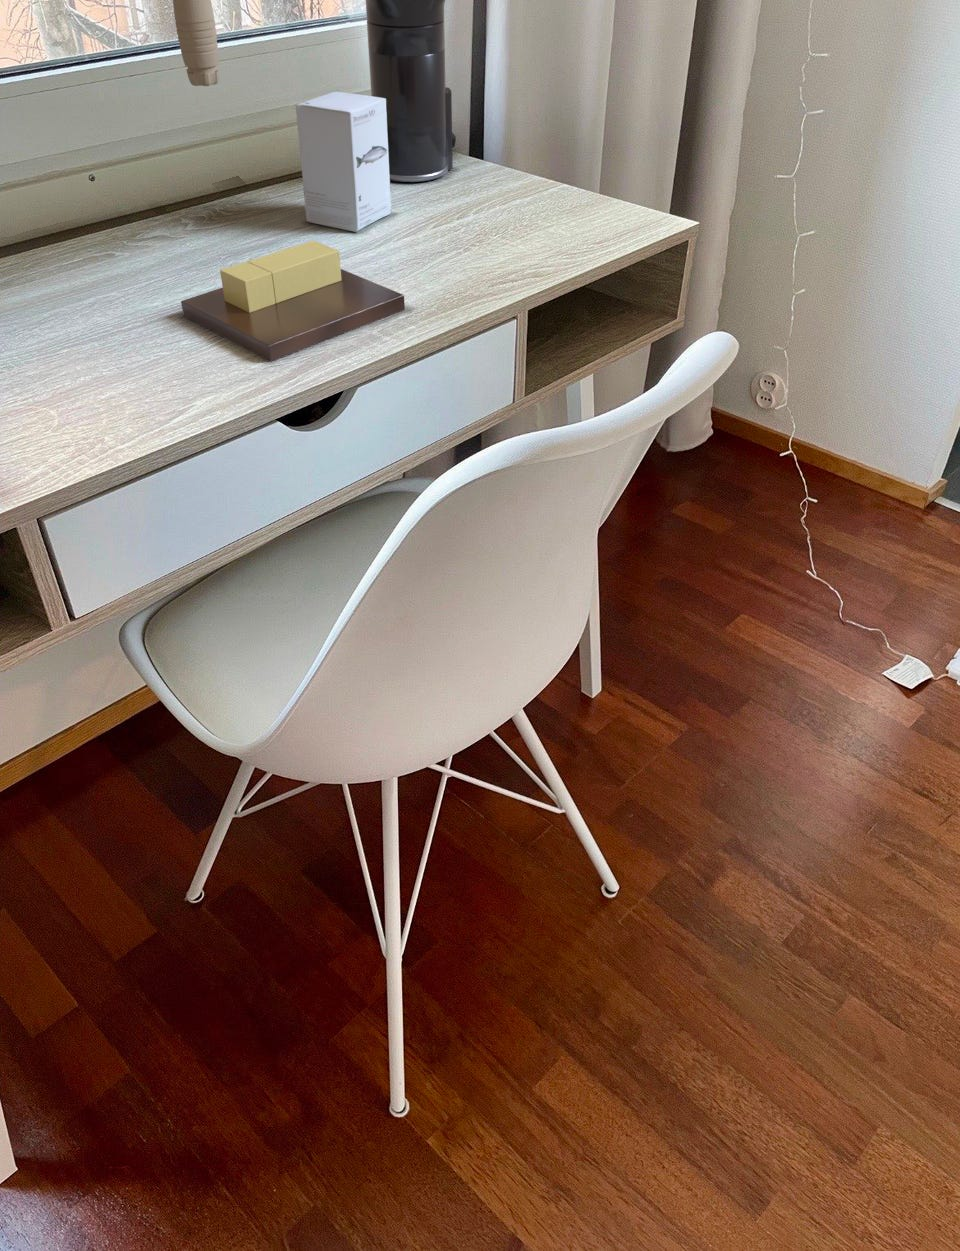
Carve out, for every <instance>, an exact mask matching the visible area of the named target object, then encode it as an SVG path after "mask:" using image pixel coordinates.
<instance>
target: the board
mask: <svg viewBox="0 0 960 1251" xmlns="http://www.w3.org/2000/svg"><path fill="white" fill-rule="evenodd" d="M340 269H341V281H339V282H336V283H333V284H330V285H327V286H325V287H322V288H319V289H316V290H313V291H310V292H308V293H305V294H302V295H299V296H296V297H293V298H290V299H288V300H285V301H282V302H279V303H275V304H274V305H271V306H268V307H265V308H262V309H259V310H256V311H254V312H251V313H249V312H247V311H245V310H243V309H241V308H238V307H236V306H234V305H232V304H230V303H228V302H226V301H225V298H224V292H223V286H222V287H220V288H217V289H213V290H211V291H207V292H204V293H202V294H201V293H200V294H198V295H195V296H192V297H188V298H185V299H182V300H180V304H181V310H182V315H183V317H185V318H187V319H189V320H191V321H192V322H194V323H197V324H198V325H201V326H203V327H204V328H206V329H208V330H210V331H212V332H214V333H216V334H217V335H219V336H222V337H223V338H226V339H227V340H229V341H231V342H233V343H235V344H237V345H239V346H241V347H242V348H244V349H246V350H248V351H250V352H252V353H254V354H256V355H258V356H259V357H262V358H263V359H266V360H267V361H269V362H273V361H276V360H278V359H281V358H284V357H286V356H289V355H291V354H294V353H296V352H300V351H302V350H304V349H307V348H309V347H312V346H315V345H317V344H319V343H320V344H321V343H323V342H325V341H328V340H330V339H333V338H335V337H338V336H340V335H343V334H346V333H348V332H351V331H353V330H356V329H358V328H362V327H364V326H366V325H369V324H371V323H374V322H376V321H377V322H378V321H379V320H382V319H384V318H387V317H390V316H392V315H395V314H398V313H400V312H403V311H405V310H406V308H405V307H406V306H405V303H406V302H405V294H403V293H400V292H398V291H396V290H393V289H391V288H388V287H386V286H383V285H381V284H379V283H376V282H374V281H371V280H369V279H367V278H364V277H362V276H360V275H357V274H354V273H353V272H349V271H347V270H345V269H342V268H340Z"/></svg>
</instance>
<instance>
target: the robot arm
mask: <svg viewBox="0 0 960 1251" xmlns="http://www.w3.org/2000/svg"><path fill="white" fill-rule="evenodd" d="M445 4H446V0H365V16H366V32H367V34H366V35H367V47H368V63H369V65H368V66H369V79H370V83H369V84H370V96H373V97H380V98H385V99H386V113H387V134H388V155H389V176H390V181H393V182H402V183H418V182H420V183H421V182H427V181H432V180H435V179H439V178H441V177H444V176H445V175H447V173H448V171H449V170H453V168H454V166H453V163H454V162H453V149H454V148H455V147H456V142H457V136H456V135H455V134H454V132H453V109H452V108H453V107H452V105H453V104H452V103H453V101H452V100H453V99H452V96H453V95H452V94H453V93H452V89H451V88H450V87H449V86H448V87H447V86H446V48H445V44H446V43H445V37H446V36H445Z"/></svg>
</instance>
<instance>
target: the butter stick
mask: <svg viewBox="0 0 960 1251" xmlns="http://www.w3.org/2000/svg"><path fill="white" fill-rule="evenodd" d="M246 262H248V263H250V264H253V265H255V266H257V267H259V268H262V269H264V270H266V271H268V272H271V273H272V281H273V289H274V296H275V303H279V302H282V301H285V300H288V299H290V298H293V297H296V296H299V295H302V294H305V293H308V292H310V291H313V290H316V289H319V288H322V287H325V286H327V285H330V284H333V283H336V282H339V281H341V269H342V268H341V258H340V250H339V249H336V248H334V247H331V246H329V245H326V244H323V243H322V242H319V241H317V240H313V239H312V240H311V241H308V242H304V243H301V244H298V245H294V246H291V247H289V248H285V249H282V250H279V251H276V252H272V253H270V254H266V255H264V256H260V257H257V258H253V259H251V260H247V261H246Z"/></svg>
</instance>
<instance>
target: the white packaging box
mask: <svg viewBox="0 0 960 1251" xmlns="http://www.w3.org/2000/svg"><path fill="white" fill-rule="evenodd" d="M295 115H296V124H297V133H298V135H297V136H298V146H299V155H300V166H301V175H302V186H303V196H304V207H305V208H304V209H305V217H306V222H308V223H311V224H316V225H320V226H325V227H330V228H334V229H340V230H344V231H349V232H355V233H358V232H359V231H360V230H362V229H364V228H366V227H367V226H369V225H371V224H373V223H374V222H377V221H378V220H380V219H383V218H385V217H387V216H390V215H391V214H392V203H391V202H392V201H391V200H392V199H391V180H390V176H389V155H388V134H387V113H386V99H385V98H380V97H373V96H371V95H365V94H357V93H350V92H341V91H332V92H329V93H326V94H324V95H320V96H317V97H315V98H312V99H308V100H306V101H303V102H301V103H297V104H296V105H295Z"/></svg>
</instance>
